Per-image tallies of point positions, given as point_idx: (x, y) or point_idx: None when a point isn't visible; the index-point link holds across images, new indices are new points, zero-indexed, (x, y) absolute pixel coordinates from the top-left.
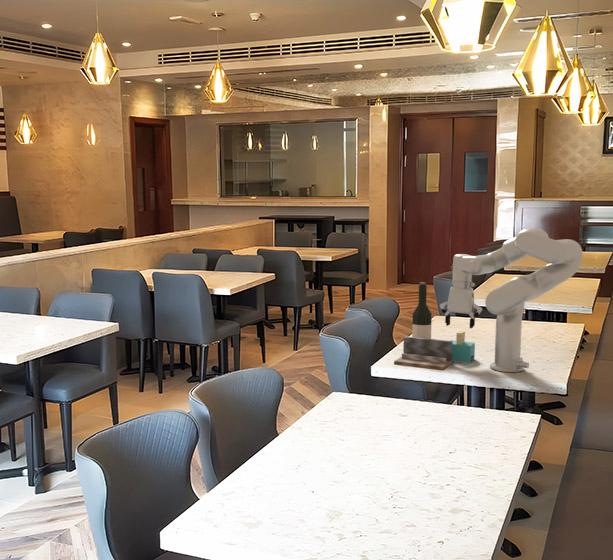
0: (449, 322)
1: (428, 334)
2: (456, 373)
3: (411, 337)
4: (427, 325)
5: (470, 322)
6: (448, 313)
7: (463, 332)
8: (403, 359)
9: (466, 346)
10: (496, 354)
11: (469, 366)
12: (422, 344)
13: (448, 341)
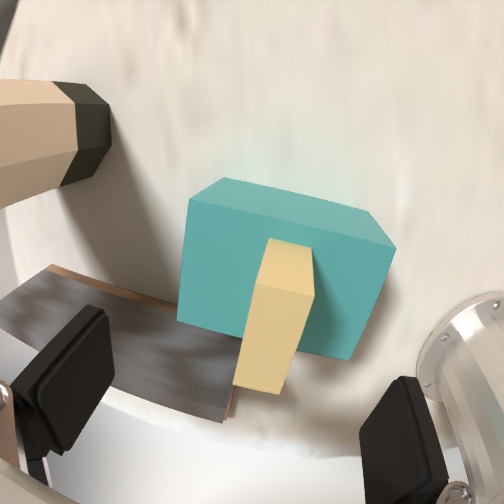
0: (96, 353)
1: (25, 176)
2: (279, 436)
3: (14, 331)
4: None
5: (371, 485)
6: (47, 482)
7: (298, 342)
8: None
9: (323, 351)
10: (448, 416)
11: (332, 358)
12: None
13: (203, 417)
